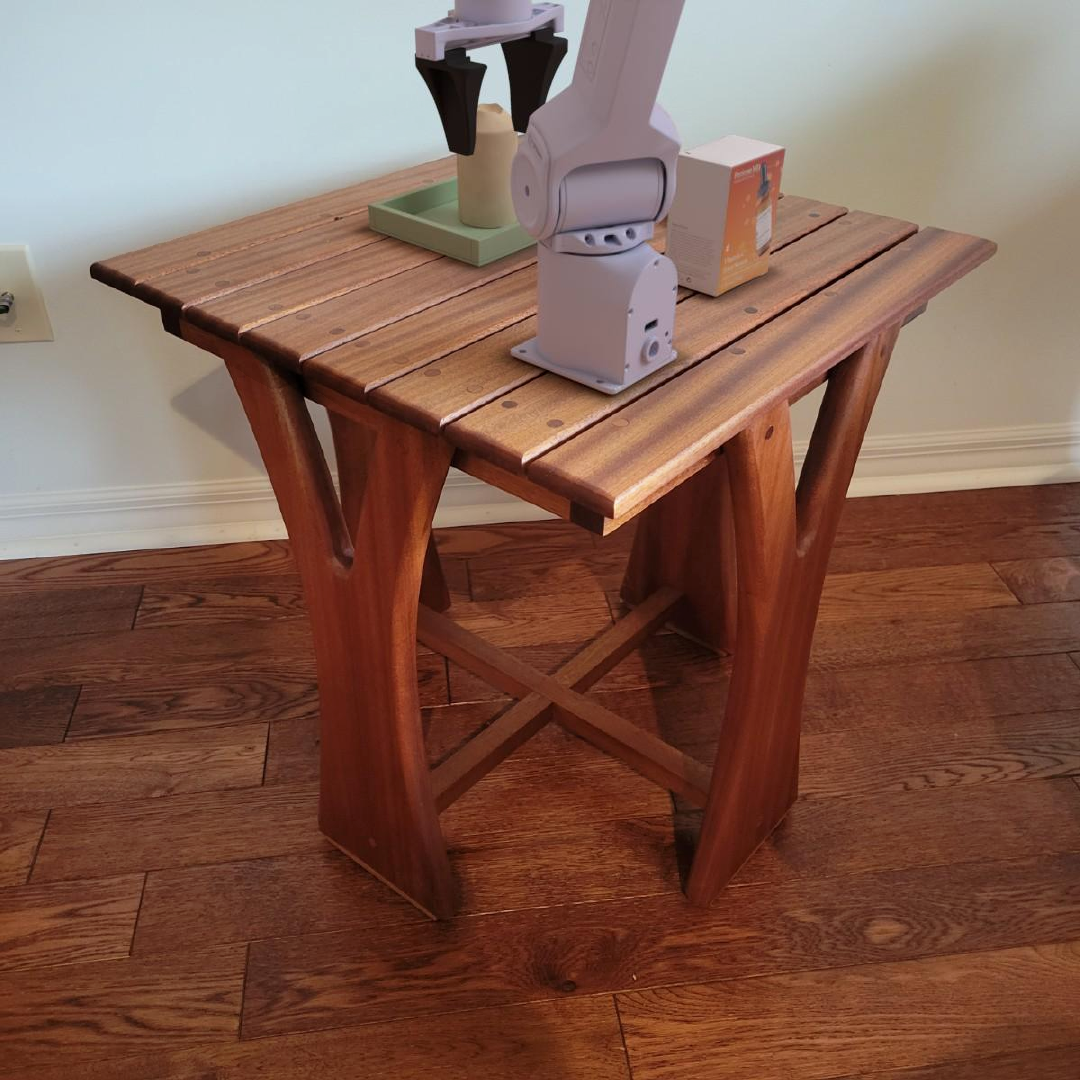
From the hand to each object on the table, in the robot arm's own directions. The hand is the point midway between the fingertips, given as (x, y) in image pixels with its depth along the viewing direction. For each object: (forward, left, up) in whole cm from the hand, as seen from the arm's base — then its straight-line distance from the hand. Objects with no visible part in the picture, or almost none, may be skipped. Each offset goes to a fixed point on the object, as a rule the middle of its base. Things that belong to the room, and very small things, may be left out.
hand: (494, 142), depth 87 cm
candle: (+8, -8, -10) cm, 15 cm away
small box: (-15, -11, -11) cm, 21 cm away
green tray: (+8, -8, -10) cm, 15 cm away
